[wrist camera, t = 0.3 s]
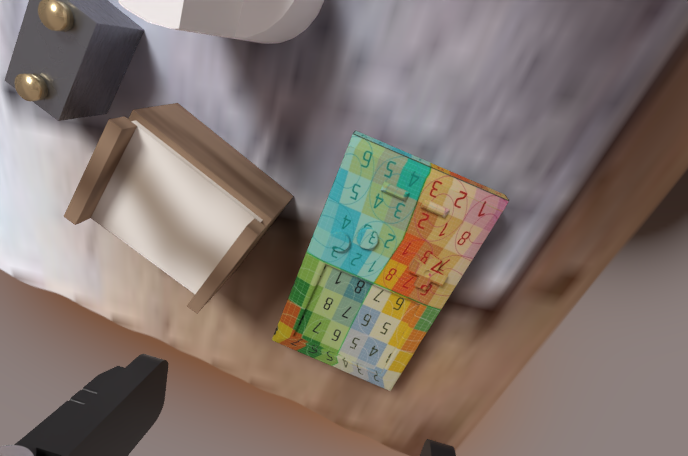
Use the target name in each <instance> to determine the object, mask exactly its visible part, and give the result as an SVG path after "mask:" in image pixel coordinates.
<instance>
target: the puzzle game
mask: <svg viewBox="0 0 688 456" xmlns="http://www.w3.org/2000/svg"><path fill="white" fill-rule="evenodd" d="M508 202H509V199H508V198H507V197H506V195H504V194H502V193H500V192H497V191H495V190H493V189H490V188H488V187H486V186H483V185H481V184H479V183H476V182H474V181H472V180H469V179H467V178H465V177H462V176H460V175H458V174H455V173H453V172H451V171H448V170H446V169H444V168H441V167H439V166H437V165H434V164H432V163H430V162H427V161H425V160H423V159H420V158H418V157H416V156H413V155H411V154H409V153H406V152H404V151H402V150H400V149H397V148H395V147H393V146H390V145H388V144H386V143H383V142H381V141H379V140H376V139H374V138H372V137H369V136H367V135H365V134H362V133H360V132H358V131H355V132H354V133H353V135H352V137H351V140H350V142H349V145H348V148H347V150H346V153H345V155H344V158H343V160H342V163H341V165H340V168H339V170H338V173H337V176H336V178H335V181H334V183H333V186H332V188H331V191H330V193H329V196H328V198H327V201H326V204H325V206H324V209H323V211H322V214H321V216H320V219H319V221H318V224H317V226H316V229H315V231H314V234H313V237H312V239H311V242H310V244H309V247H308V249H307V252H306V254H305V257H304V259H303V262H302V265H301V267H300V270H299V272H298V275H297V277H296V280H295V282H294V285H293V287H292V290H291V293H290V295H289V298H288V300H287V303H286V305H285V308H284V310H283V313H282V315H281V318H280V321H279V323H278V326H277V328H276V331H275V333H274V336H273V338H272V340H273V341H275V342H277V343H280V344H282V345H284V346H287V347H289V348H291V349H294V350H296V351H298V352H301V353H303V354H305V355H308V356H310V357H312V358H315V359H317V360H319V361H322V362H324V363H326V364H329V365H331V366H333V367H336V368H338V369H340V370H343V371H345V372H347V373H350V374H352V375H354V376H356V377H359V378H361V379H363V380H366V381H368V382H370V383H373V384H375V385H377V386H380V387H382V388H384V389H387V390H389V391H391V390H392V388H393V386H394V385H395V383H396V382H397V380H398V378H399V377H400V375H401V374H402V372H403V370H404V369H405V367H406V365H407V364H408V362H409V361H410V359H411V357H412V356H413V354H414V353H415V351H416V349H417V348H418V346H419V345H420V343H421V341H422V340H423V338H424V337H425V335H426V333H427V332H428V330H429V329H430V327H431V325H432V324H433V322H434V320H435V319H436V317H437V316H438V314H439V312H440V311H441V309H442V308H443V306H444V304H445V303H446V301H447V300H448V298H449V296H450V295H451V293H452V292H453V290H454V288H455V287H456V285H457V283H458V282H459V280H460V279H461V277H462V275H463V274H464V272H465V271H466V269H467V268H468V266H469V264H470V263H471V261H472V260H473V258H474V256H475V255H476V253H477V252H478V250H479V249H480V247H481V245H482V244H483V242H484V241H485V239H486V237H487V236H488V234H489V233H490V231H491V230H492V228H493V226H494V225H495V223H496V222H497V220H498V218H499V217H500V215H501V214H502V212H503V210H504V209H505V207H506V205H507V203H508Z"/></svg>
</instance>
